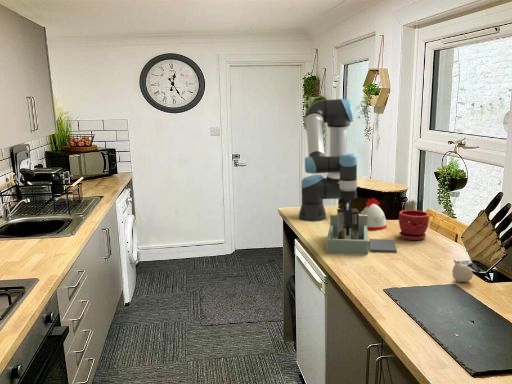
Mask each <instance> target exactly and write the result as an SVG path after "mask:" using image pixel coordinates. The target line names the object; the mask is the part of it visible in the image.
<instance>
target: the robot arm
mask: <svg viewBox="0 0 512 384" xmlns="http://www.w3.org/2000/svg"><path fill="white" fill-rule="evenodd" d="M303 119H304V120H303V122H304V125H305V127H306V136H307V137H306V139H307V140H306V141H307V153H308V154H307V155H308V156H306V157H305V158H304V172H305V173H306V174H313V175H309V176H305V177H303V178H302V179H301V186H300V187H301V206H300V208H299V213H298V218H299V220H302V221H309V222H316V221H317V222H319V221H323V220H326V219H327V212H326V209H325V205H324V200H344V201H343V204H342V205H343V206H342V207H343V209H344V212H345V226H344V227H343V228H345V239H351V212H352V209H353V203H354V202H353V201H352V200H355V199H357V197H358V193H357V192H358V190H357V189H358V178H357V177H358V176H357V175H358V172H357V171H358V168H357V167H358V157H357V154H355V153H347V133H348V131H347V130H348V128H349V127H350V126H351V123H352V122H353V121H354V111H353V105H352V103H351V100H350V99H348V98H347V99H343V98H336V99H320V100H317V101H315V102H313V103H312V104H311V105H309V106H308V108H307V109H306V111H305V114H304V117H303ZM353 123H354V122H353ZM323 124H326V125H327V128H328V129H329V156H325V155H326V154H325V145H324V134H323ZM314 174H315V175H314ZM321 174H326V177H324V176H323V175H321Z"/></svg>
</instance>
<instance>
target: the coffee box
mask: <svg viewBox="0 0 512 384" xmlns="http://www.w3.org/2000/svg"><path fill="white" fill-rule="evenodd" d="M336 211H337V213H336V214H337V232H338V237H337V239H345V228H343V227H344V226H345V212H344V208H337V209H336ZM359 215H360V212H359V209H358V208H355V207H354V208H352V212H351V239H352V240H360V238H359Z"/></svg>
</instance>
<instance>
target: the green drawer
mask: <svg viewBox="0 0 512 384" xmlns="http://www.w3.org/2000/svg"><path fill="white" fill-rule="evenodd" d="M329 217H330V218H329V227H328V234H327V238H326V254H341V255H363V256H364V255H365V256H367V255H368V254H369V249H368V248H369V240H368V239H369V238H368V237H369V234H368V230H367V218H368V215H361V214H359V240H352V239H338V232H337V213H335V214H334V213H330V214H329Z"/></svg>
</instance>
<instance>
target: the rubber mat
mask: <svg viewBox="0 0 512 384" xmlns="http://www.w3.org/2000/svg"><path fill="white" fill-rule="evenodd" d="M368 239H369V240H368V245H369V252H370V253H393V254H394V253H397V252H398V250H397V246H396V242H395V239H387V238H385V239H384V238H382V239H381V238H380V239H379V238H378V239H377V238H368Z"/></svg>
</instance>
